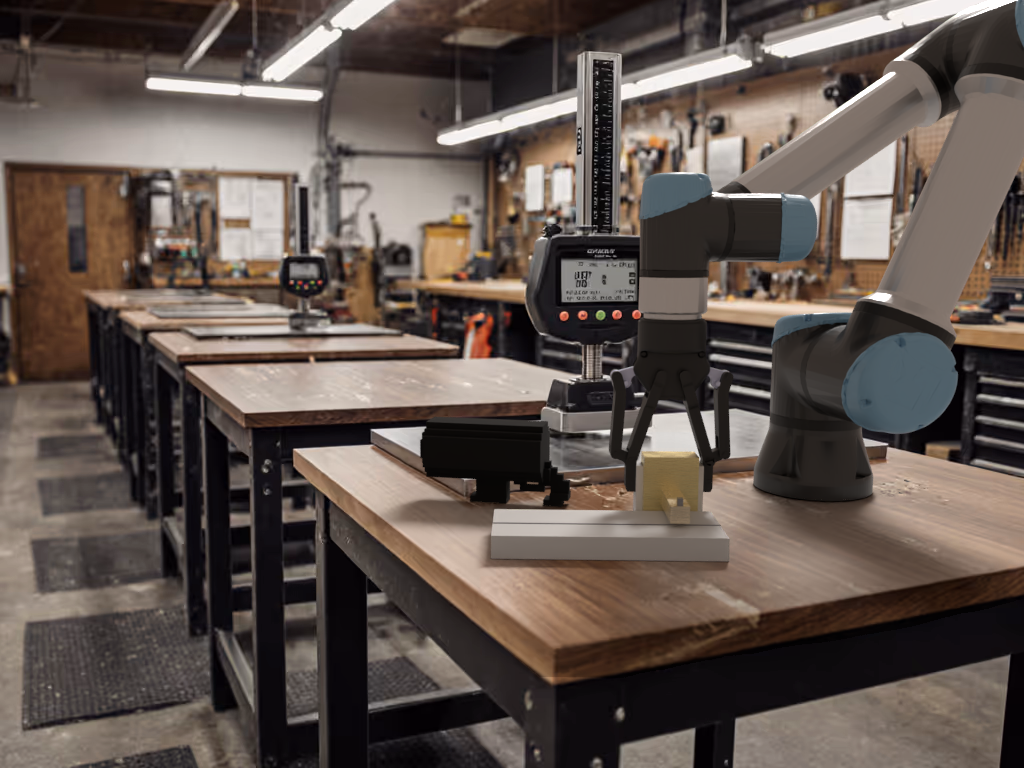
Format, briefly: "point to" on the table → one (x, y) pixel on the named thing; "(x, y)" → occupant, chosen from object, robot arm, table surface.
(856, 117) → the robot arm
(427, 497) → the table surface
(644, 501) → the pale yellow block
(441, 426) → the security camera
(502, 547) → the board
